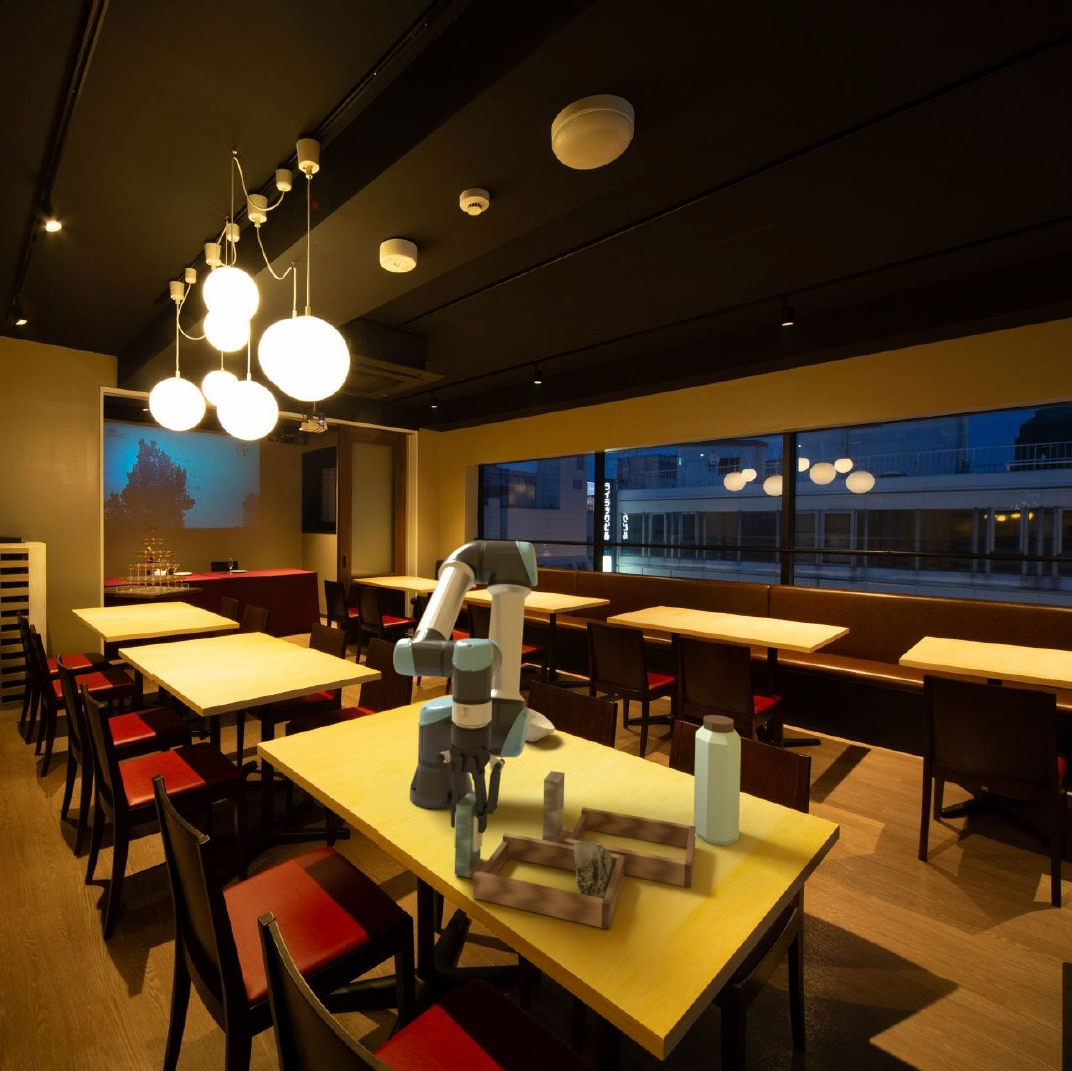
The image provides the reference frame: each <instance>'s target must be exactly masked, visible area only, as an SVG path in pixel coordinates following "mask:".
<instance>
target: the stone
mask: <svg viewBox="0 0 1072 1071" xmlns="http://www.w3.org/2000/svg"><path fill="white" fill-rule="evenodd" d="M598 844H599V843H596V842H592V841H586V840H583V841H582V840H581V841H580V842H576V843H575V844H574V856H575V864H576V871H575V873H576V880H575V881H576V884H577V888H578V890H580V892H582V894H584V895H589V896H594V897H598V898H603V899H604V896H605V893H606V890H607V887H608V884H609V881H610V879H611V876H612V873H613V865H612V861H611V855H610V851H609V850H607V849H606V848H604V847H603V846H601V845H602V844H599V845H598Z"/></svg>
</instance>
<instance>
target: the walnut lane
mask: <svg viewBox="0 0 1072 1071" xmlns="http://www.w3.org/2000/svg"><path fill="white" fill-rule="evenodd" d="M476 813H477V806H476V797H475V793H472V794H469V793H468V794H467V795H466V796H464V797H463V798H462V799H461V800H460V801H459V802H458V803H457V805H456V842H455V841H454V843H455V848H454V850H455V851H454V852H455V853H454V875H456V876H462V877H466V878H470V879H472V898H475V899H477V900H483V901H486V902H490V903H495V904H498V905H503V906H507V907H512V908H516V909H520V910H524V911H529V912H532V913H537V914H541V915H545V916H551V917H552V918H553V917H554V918H558V919H563V920H567V921H570V922H575V923H576V922H577V923H581V924H584V925H589V926H593V927H597V928H601V929H605V930H610V927H611V925H612V924H611V923H612V921H613V917H614V913H615V912H616V911H615V909H616V907H617V903H618V900H619V898H620V897H619V896H620V894H621V891H622V887H623V883H624V880H625V875H626V874H625V856H623V855H618V854H613V853H610V855H611V861H612V865H613V873H612V876H611V879H610V881H609V884H608V887H607V890H606V893H605V896H604V899H603V898H598V897H594V896H589V895H585V894H584V893H580V892H575V891H570V890H567V889H560V888H558V887H557V888H556V887H553V886H552V887H551V886H547V885H542V884H538V883H534V882H530V881H524V880H520V879H515V878H511V877H507V876H501V875H497V874H498V873H499V871H500V869H501V868H502V866H503V865H504V863H506V860H507V859H508V858H511V859H516V860H522V861H525V862H530V863H535V864H539V865H540V864H541V865H545V866H550V867H555V868H558V869H565V870H569V871H573V872H576V864H575V856H574V846H571V845H566V844H561V843H556V842H551V841H546V840H543V839H539V838H535V837H530V836H524V835H519V834H515V833H510V832H509V833H508V832H504V834H503V835H502V840H501V842H500V844H499V845H498V847H497V848H496V849H495V850H494V852H493V853H492V854H491V856H490V857H489V858H488V859H486V858H482V857H481V853H482V852H481V848H482V846H481V847H480V848H479V850H478V851H477V852H473V818H474V816H475V814H476Z"/></svg>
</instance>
